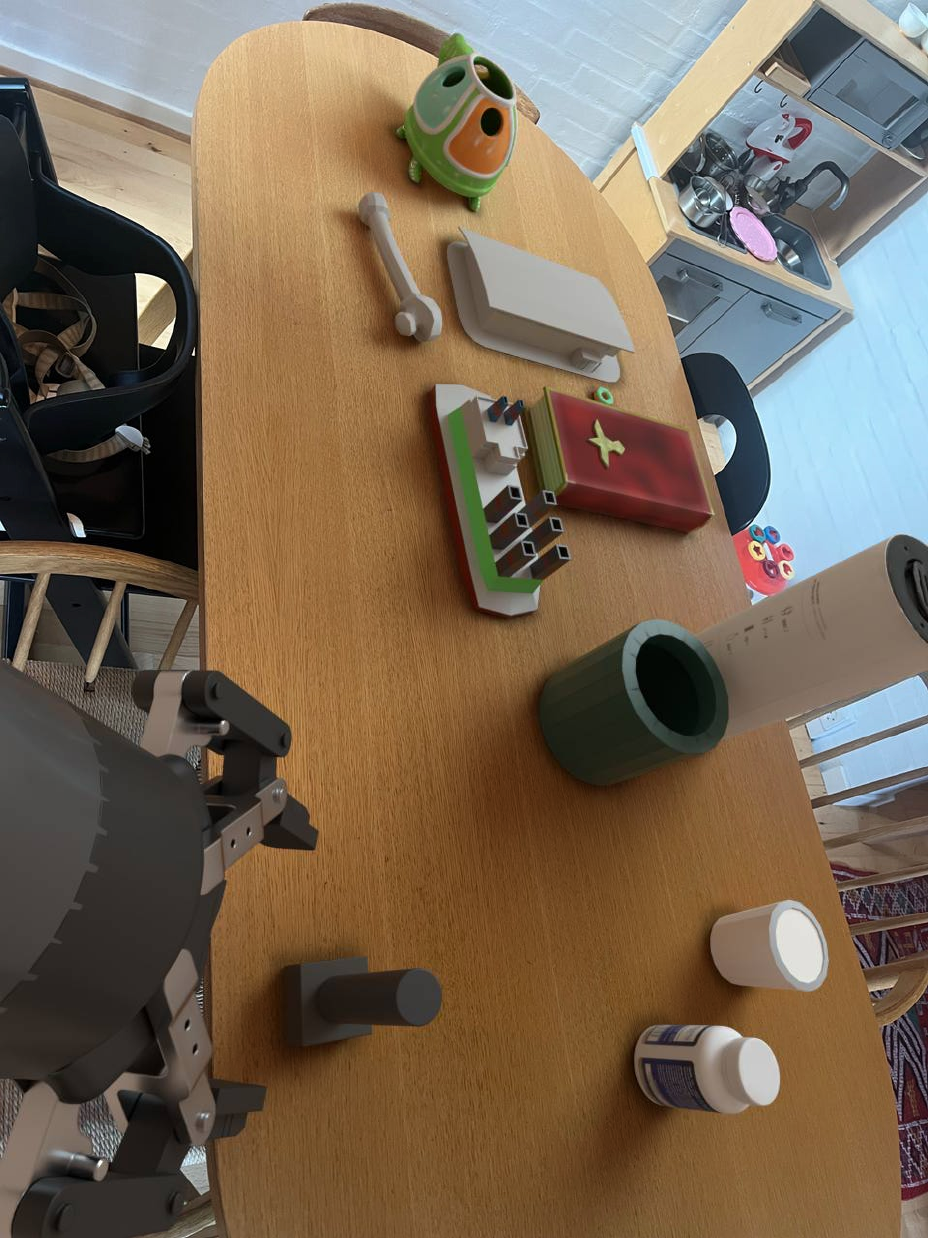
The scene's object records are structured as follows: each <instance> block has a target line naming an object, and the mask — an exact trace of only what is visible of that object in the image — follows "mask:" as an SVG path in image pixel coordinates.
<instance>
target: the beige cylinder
mask: <svg viewBox="0 0 928 1238" xmlns="http://www.w3.org/2000/svg"><path fill="white" fill-rule="evenodd" d="M693 635H694V636H695V637H696V638H697V639H698V640H699V641H700V642H701V643H702V644H703V645H704V647H705V648H706V649H707V651H708V652H709V653H710V655H711V656H712V657H713V659H714V661H715V663H716V665H717V667H718V669H719V671H720V673H721V675H722V677H723V679H724V683H725V687H726V691H727V694H728V704H729V720H728V724H727V727H726V731H725V734H724V736H723V738H722V739H721V740H720V742H723V741H726V740H728V739H731V738H734V737H737V736H740V735H744V734H746V733H749V732H752V731H756V730H758V729H762V728H764V727H767V726H770V725H773V724H776V723H778V722H782V721H784V720H788V719H790V718H793V717H795V716H799V715H802V714H805V713H808V712H810V711H813V710H816V709H819V708H823V707H825V706H828V705H830V704H833V703H837V702H839V701H840V702H841V701H843V700H845V699H849V698H851V697H854V696H856V695H859V694H863V693H866V692H868V691H872V690H875V689H877V688H880V687H883V686H886V685H889V684H891V683H895V682H897V681H900V680H903V679H907V678H909V677H912V676H915V675H918V674H920V673H923V672H926V671H928V545H927V544H926V543H925V542H924V541H922V540H921V539H918V538H917V537H916V536H913V535H910V534H908V533H901V532H898V533H896V534H893V535H891V536H889V537H887V538H885V539H884V540H882V541H879V542H878V543H876V544H874V545H871V546H870V547H868V548H865V549H863V550H861V551H860V552H859V551H858V552H857V553H856V554H853V555H851V556H849V557H847V558H845V559H843V560H841V561H839V562H837V563H835V564H833V565H831V566H829V567H827V568H825V569H823V570H821V571H819V572H817V573H815V574H813V575H811V576H809V577H807V578H805V579H803V580H801V581H799V582H796V583H794V584H793V585H791V586H789V587H786V588H785V589H783V590H780V591H779V592H777V593H775V594H773V595H771V596H769V597H767V598H765V599H763V600H761V601H759V602H757V603H755V604H753V605H751V606H749V607H747V608H745V609H743V610H741V611H738V612H737V613H734V614H733V615H731V616H728V617H727V618H725V619H723V620H721V621H719V622H717V623H715V624H713V625H711V626H709V627H707V628H705V629H703V630H701V631H699V632H697V633H695V634H693Z"/></svg>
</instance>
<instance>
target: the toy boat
mask: <svg viewBox="0 0 928 1238" xmlns="http://www.w3.org/2000/svg"><path fill="white" fill-rule="evenodd" d="M525 407H526V406H525V403H524V400H523V399H520V398H519V399H517V400H516V401H515V402H514V403H513V402H509V401H508V396H507V395H502V396H500V398H498V399H495V398H492V397H491V395H489V394H486V393H484V392H481V391H478V390H477V389H474V388H472V387H469V386H467V385H464V384H461V383H460V384H458V383H457V384H455V383H454V384H453V383H435V384H434V386H433V387H432V388H431V389H430V390H429V410H428V412H429V413H428V417H429V423H430V426H431V427H430V428H431V433H432V436H433V442H434V447H435V451H436V456H437V461H438V467H439V471H440V476H441V482H442V486H443V491H444V496H445V501H446V507H447V511H448V516H449V521H450V526H451V531H452V537H453V542H454V545H455V551H456V556H457V561H458V565H459V571H460V575H461V580H462V582H463V584H464V587H465V589H466V592H467V594H468V597H469V598H470V601H471V604H472V606H473V609H474V610H475V611H478V612H481V613H485V614H488V615H492V616H496V617H500V618H503V619H510V618H514V617H519V616H524V615H529V614H533V613H535V612H536V611H538V607H539V598H540V590H541V584H542V583H543V582H544V580H546V579H547V578H549V576H551V575H553V574H554V573H556V572H557V571H558V570H560V569H561V568H562V567H563V566H564V565H566V564H567V563H569V562H570V561H572V557H571V554H570V549H569V546H568V545H566V544H565V545H564V544H555V545H554V546H551V548H550V549H548V550H547V551H546V552H545V553H543V554H542V555H541V556H539V555H538V553H540V552H541V551H542V550H543V549H544V548H546V547H547V546H549V545H550V544H551V543H552V542H554V541H555V540H556V539H557V538H559V536H561V535H562V534H564V533H565V531H564V526H563V523H562V522H563V521H562V518H561V517H553V516H549V517H547V518H546V519H545V520H544V521H542V522H541V523H540V524H539V525H538V526H536V527H535V528H534V529H533V530H532V527H533V526H534V525H535V524H537V523H538V522H539V521H540V520H541V519H543V518H544V517H545V516H546V515H547V514H548V513H549V512H551V511H552V510H553V509H554V508H555V507H557V506H558V505H557V503H556V499H555V495H554V492H552V491H546V490H542V491H541V492H540V491H539V492H538V493H537V494H536V495H535V496H534V497H533V498H531V499H530V500H529V502H527V503H526V501H525V497H524V492H523V488H522V484H521V481H520V475H519V472H518V464H519V463H520V462H521V461H522V459H524V457H525V456H526V453H525V452H526V451H527V450H529V447H528V443H527V439H526V434H525V431H524V427H523V424H522V420H521V414H522V412H523V411H524V408H525Z"/></svg>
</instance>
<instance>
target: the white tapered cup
mask: <svg viewBox="0 0 928 1238" xmlns="http://www.w3.org/2000/svg"><path fill="white" fill-rule="evenodd" d="M709 942H710V953H711V956H712V960H713V963H714V965H715V967H716V969H717V970H718V972H719V973H720V975H721V977H723V978H724V979H725V980H726V981H728V983H730V984H732V985H737V986H743V987H752V988H753V987H754V988H763V989H772V990H773V989H775V990H785V991H794V992H795V991H796V992H805V993H806V992H807V993H810V992H813V991H815V990H817V989H819V988H821V987H822V984H823V983H824V981H825V980H826V978H827V974H828V967H829V963H830V960H829V950H828V943H827V940H826V937H825V934H824V932H823V928H822V927H821V925H820V923H819V921H818V919H817V918H816V917H815V915H814V914H813V912H812V911H811V910H810V909H809V908H808V907H806V906H805V905H804V904H803V903H802V902H800V901H795V900H791V899H787V900H782V901H778V902H775V903H770V904H766V905H762V906H759V907H755V908H750V909H746V910H743V911H739V912H735V913H731V914H727V915H724V916H721V917H719V918H718V919H717V920H716V921H715V923H714V924H713V926H712V929H711V932H710V936H709Z"/></svg>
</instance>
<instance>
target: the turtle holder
mask: <svg viewBox="0 0 928 1238" xmlns="http://www.w3.org/2000/svg"><path fill="white" fill-rule="evenodd" d="M439 49H440V50H439V53H438V61H437V67H436V68H434V69H433V70H432V71H431V72H430V73H429V74H428V75H427V76H426V77H425V78H424V80H423V81H422V82H421V84H420V85H419V87H418V89H417V90H416V92H415V95H414V98H413V102H412V104H411V105H410V106H409V108H408V109H407V112H406V114H405V117H404V124H402V126H399V128H398V129H396V135H397V137H398V138H399V139H405V140H406V142H407V144H408V146H409V149H410V150H411V152H412V153H413V155H412V157H411V159H410V161H409V165H408V170H407V172H408V176H409V178H410V179H411V181H413V182H415V183H419V182H420V180H421V178H422V172H421V171H423V169H425V171H426V172H427V173H428V174H429V175H430V177H432V178H433V179H434V180H435V181H437V182H438V183H439V184H441V185H442V186H443V187H444V188H446V189H448V190H449V191H452V192H453V193H456V194H459V195H461V196H464V197H468V206H469V208H470V210H472V211H474V212H478V211H479V209H480V205H481V201H482V197H484V196H485V195H487V194H489V193H490V192H491V191H492V190H493V189H494V187H495V186H496V185H497V182H498V179H499V178H500V176H501V175H502V174H503V172H504V170H505V169H506V168H508V166H509V165H510V163H511V160H512V158H513V154H514V152H515V147H516V143H517V139H518V138H517V137H518V129H519V123H518V122H519V121H518V120H519V119H518V110H517V109H518V108H517V97H518V96H517V91H516V87H515V84H514V82H513V79H512V78H511V77H510V75H509V73H508V72H507V70H506V69H505V68H504V67H503V66H501V64H499V63H498V62H497V61H495V60H493V59H492V58H490V56H487V55H485V54H483V53H481V52H478V51H474V49H473V47H472V46H470V45H468V44H467V41H466V39H465V36H463V34H461V33H460V32H455V33H453V34H452V35H451V36H450V37H449V39H448V40H444V41H442V43H441V46H440V48H439ZM475 66H482V67H484V68H485V69H486V70H487V71H484V72H483V71H479V70H475ZM403 126H404V129H405V130H404V129H403ZM411 163H412V166H413V168H412V166H411ZM420 173H421V174H420Z"/></svg>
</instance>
